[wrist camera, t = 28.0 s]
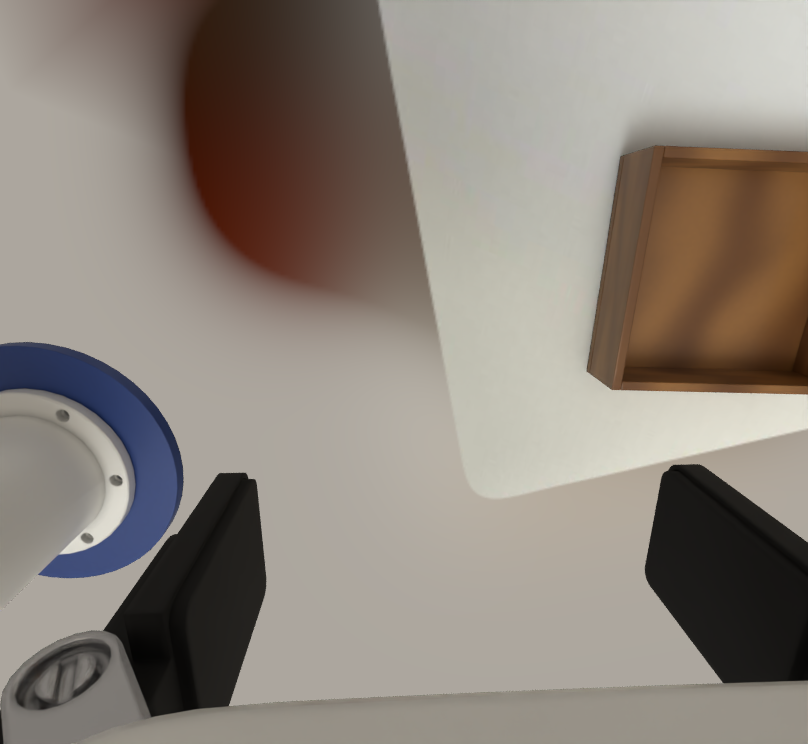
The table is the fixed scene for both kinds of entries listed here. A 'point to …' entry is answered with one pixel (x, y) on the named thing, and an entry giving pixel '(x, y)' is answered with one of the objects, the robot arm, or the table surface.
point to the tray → (705, 273)
